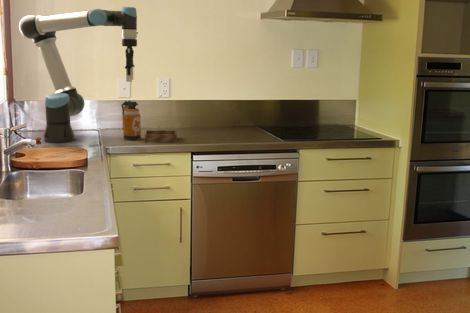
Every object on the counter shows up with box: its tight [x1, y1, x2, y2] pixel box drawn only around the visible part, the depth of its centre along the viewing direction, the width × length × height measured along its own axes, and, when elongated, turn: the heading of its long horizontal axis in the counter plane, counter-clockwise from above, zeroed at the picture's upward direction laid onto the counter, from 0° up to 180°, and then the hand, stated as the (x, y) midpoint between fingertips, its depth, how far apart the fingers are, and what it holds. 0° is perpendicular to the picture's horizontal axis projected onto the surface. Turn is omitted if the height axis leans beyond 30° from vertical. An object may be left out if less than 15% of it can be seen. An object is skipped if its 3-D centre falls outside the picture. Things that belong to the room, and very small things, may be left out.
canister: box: [121, 100, 142, 141], centre depth 285 cm, size 9×11×20 cm
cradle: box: [144, 129, 178, 144], centre depth 284 cm, size 16×14×4 cm
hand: (129, 80), depth 281 cm, fingers open, 13 cm apart
